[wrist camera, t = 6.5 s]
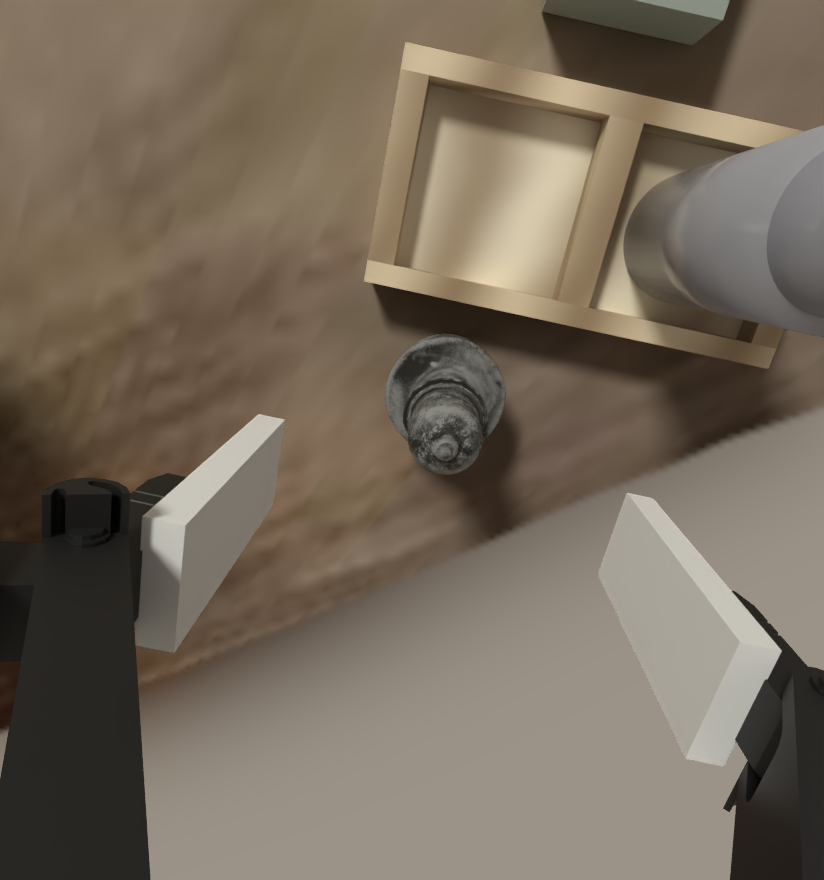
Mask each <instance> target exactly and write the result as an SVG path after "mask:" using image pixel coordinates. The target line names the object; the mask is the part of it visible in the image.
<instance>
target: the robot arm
mask: <svg viewBox="0 0 824 880" xmlns="http://www.w3.org/2000/svg"><path fill="white" fill-rule="evenodd" d="M284 423H285V420H284V419H279V418H274V417H270V416H265V415H260V414H258V415H257V416H256V417H255V418H254V419H253V420H251V421H250V422H249V423H248V424H247V425H246V426H245V427H243V428H242V429H241V430H240V431H239V432H238V433H237V434H235V435H234V436H233V437H232V438H231V439H230V440H229V441H228V442H226V443H225V444H224V445H223V446H222V447H221V448H220V449H218V450H217V451H216V452H215V453H214V454H213V455H212V456H210V457H209V458H208V459H207V460H206V461H205V462H204V463H202V464H201V465H200V466H199V467H198V468H197V469H196V470H195V471H193V472H192V473H191V474H190V475H189V476H188V477H183V476H178V475H173V474H169V473H167V474H164V475H161V476H158V477H155V478H152V479H149V480H148V481H146V482H145V483H144V484H142V485H141V486H140V487H139V488H137V489H136V491H135V492H134V491H133V492H132V493H131V494H130V492H129V490H128V489H127V487H125V486H123V485H122V484H120V483H118V482H114V481H110V480H106V479H97V478H81V479H71V480H67V481H63V482H59V483H56V484H55V485H53V486H51V487H49V488H47V489H46V491H45V492H44V493H43V495H42V542H38V543H15V542H0V661H21V663H20V669H19V675H18V681H17V686H16V692H15V698H14V704H13V709H12V715H11V721H10V726H9V732H8V738H7V744H6V750H5V755H4V761H3V767H2V772H1V778H0V880H150V868H149V851H148V836H147V819H146V804H145V788H144V774H143V773H144V772H143V758H142V741H141V725H140V710H139V694H138V678H137V663H136V647H135V645H137V646H142V647H147V648H152V649H156V650H161V651H166V652H171V653H175V651H176V650H177V648H178V647H179V645H180V644H181V642H182V641H183V639H184V638H185V636H186V635H187V633H188V632H189V630H190V629H191V627H192V626H193V624H194V623H195V621H196V620H197V618H198V617H199V615H200V614H201V612H202V611H203V609H204V608H205V606H206V605H207V603H208V602H209V600H210V599H211V597H212V596H213V594H214V593H215V591H216V590H217V588H218V587H219V585H220V584H221V583H222V581H223V580H224V578H225V577H226V575H227V574H228V572H229V571H230V569H231V568H232V566H233V565H234V563H235V562H236V560H237V559H238V557H239V556H240V554H241V553H242V551H243V550H244V548H245V547H246V545H247V544H248V542H249V541H250V539H251V538H252V536H253V535H254V533H255V532H256V530H257V529H258V527H259V526H260V524H261V523H262V521H263V520H264V518H265V517H266V515H267V514H268V512H269V511H270V510H271V508H272V507H273V501H274V494H275V487H276V480H277V473H278V466H279V459H280V452H281V445H282V438H283V430H284ZM598 576H599V578H600V581H601V583H602V585H603V587H604V589H605V591H606V593H607V595H608V597H609V599H610V602H611V603H612V606H613V608H614V610H615V612H616V614H617V616H618V618H619V621H620V623H621V625H622V627H623V629H624V631H625V633H626V635H627V637H628V639H629V642H630V644H631V646H632V648H633V650H634V652H635V654H636V656H637V658H638V660H639V663H640V665H641V667H642V669H643V671H644V673H645V675H646V677H647V679H648V682H649V684H650V686H651V688H652V690H653V692H654V694H655V696H656V698H657V700H658V703H659V705H660V707H661V709H662V711H663V713H664V715H665V717H666V719H667V721H668V723H669V726H670V728H671V730H672V732H673V734H674V736H675V738H676V740H677V742H678V745H679V747H680V749H681V751H682V753H683V755H684V757H685V759H689V760H694V761H699V762H703V763H708V764H713V765H718V766H724V765H725V763H726V761H727V759H728V757H729V755H730V753H731V751H732V749H733V747H734V745H735V743H736V742H737V743H738V745H739V747H740V748H741V750H742V752H743V753H744V755H745V756H746V758H747V760H748V761H747V763H746V765H745V767H744V769H743V771H742V773H741V774H740V777H739V778H738V780H737V782H736V784H735V786H734V788H733V790H732V792H731V794H730V796H729V798H728V800H727V802H726V804H725V806H724V809H725V810H727V811H728V812H730V810H731V809H732V807H733V805H736V814H735V827H734V838H733V852H732V863H731V875H730V880H824V671H823V670H820V669H818V668H813V667H808V666H807V665H806V664H805V663H804V662H803V661H802V660H801V658H800V657H799V656H798V655H797V654H796V653H795V652H794V650H793V649H792V648H791V647H790V646H789V645H788V644H787V643H786V641H785V640H784V639H783V638H782V637H781V636H778V632H777V631H776V630H775V629H774V628H773V626H771V624H769V623H767V620H766V619H765V617H764V616H763V615H762V614H761V613H760V612H759V610H757V608H756V607H755V606H754V605H752V604H751V603H750V602H748V601H747V600H746V599H744V598H743V597H742V596H740V595H739V594H738V593H736V592H735V591H731V590H730V589H729V588H728V586H727V585H726V584H725V583H724V582H723V581H722V579H721V578H720V577H719V576H718V575H717V574H716V572H715V571H714V570H713V569H712V568H711V567H710V565H709V564H708V563H707V562H706V560H704V558H703V557H702V556H701V555H700V553H699V552H698V551H697V550H696V549H695V548H694V546H693V545H692V544H691V543H690V542H689V540H688V539H687V538H686V537H685V536H684V534H683V533H682V532H681V531H680V530H679V529H678V527H677V526H676V525H675V524H674V523H673V522H672V520H671V519H670V518H669V517H668V516H667V514H666V513H665V512H664V511H663V510H662V509H661V507H660V506H659V505H658V504H657V503H656V501H655V500H654V499H653V498H649V497H644V496H640V495H635V494H631V493H627V494H626V497H625V499H624V503H623V505H622V508H621V511H620V513H619V516H618V519H617V522H616V525H615V527H614V530H613V533H612V536H611V539H610V542H609V545H608V547H607V550H606V553H605V555H604V558H603V561H602V564H601V567H600V569H599V572H598ZM135 621H136V627H135V632H134V622H135Z"/></svg>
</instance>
